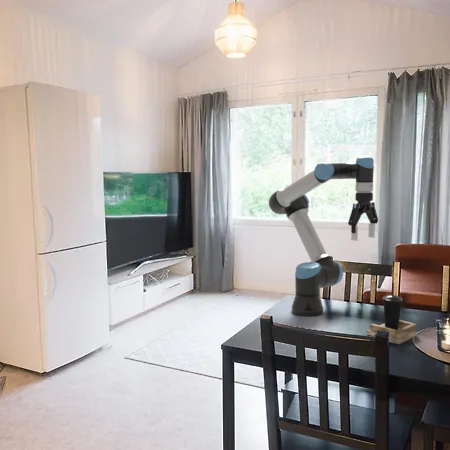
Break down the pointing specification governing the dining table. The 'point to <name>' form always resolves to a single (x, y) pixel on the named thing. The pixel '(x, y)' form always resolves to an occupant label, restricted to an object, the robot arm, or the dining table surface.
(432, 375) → the dining table surface
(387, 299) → the drinking cup
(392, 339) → the tray
